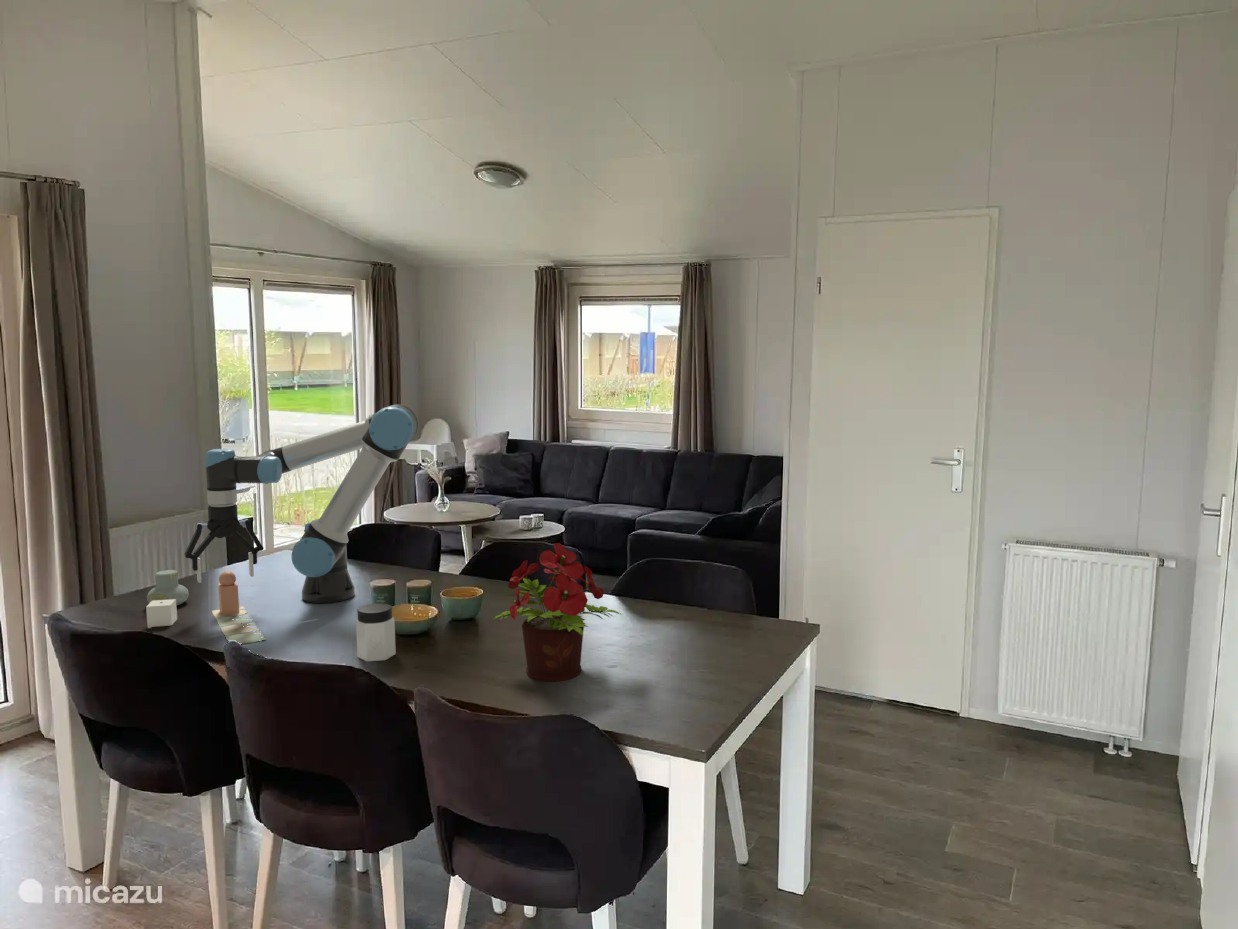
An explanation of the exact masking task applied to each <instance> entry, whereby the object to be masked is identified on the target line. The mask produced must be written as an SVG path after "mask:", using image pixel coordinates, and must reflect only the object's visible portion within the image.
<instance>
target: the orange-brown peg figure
mask: <svg viewBox="0 0 1238 929" xmlns="http://www.w3.org/2000/svg"><path fill="white" fill-rule="evenodd" d="M218 581H219V583H217V587H218V602H219V609H220V612H221V614H222V615H227V614H234V613H239V607H240V606H239V605H240V601H239V585H238V584H237V582H236V581H237V577H236V574H235V573H234V572H232V571H229V570H228V571H223V572H222V573H221V574H220V575H219V578H218Z"/></svg>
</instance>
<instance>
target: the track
mask: <svg viewBox="0 0 1238 929" xmlns="http://www.w3.org/2000/svg"><path fill="white" fill-rule="evenodd" d="M239 609H246V608H245V607H244V605H240V606H239ZM211 613H212V615H213V616H214V618H215V620H216V622H217V624H218V626H219V627H220V629H221V631H222V634H223V636H224V635H225V636H224V637H226V638H225V639H226V641H227V640H236V641H237V642H239V643H242V645H247V644H253V643H258V642H257V641H259V640H266V641H267V639H266V637H265V636H264V634H263V633H262V632H261V630H260V629H259V627H258V629H257V628H255V629H254V628H250V627H247V626H257V624H256V625H254V624H248V625H247V624H246V623H255V621H254V620H253V618H252V617H251V615H250V614H249V613H248V611H247V610H239V613H234V614H227V615H222V614H221V612H220V608H219V609H213V610H211ZM245 613H248V614H245ZM239 616H242V617H239ZM243 616H245V617H243ZM246 616H250V617H251V618H247V617H246ZM232 619H234V620H232ZM236 619H239V620H236ZM242 619H252V620H253V621H250V620H249V621H247V620H242ZM241 623H242V624H241ZM243 626H244V627H243ZM251 630H253V631H254V630H256V631H255V632H253V631H251ZM257 630H260V631H257ZM254 633H262V634H261V635H260V634H254ZM261 637H265V638H261Z"/></svg>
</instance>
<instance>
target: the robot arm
mask: <svg viewBox="0 0 1238 929" xmlns="http://www.w3.org/2000/svg"><path fill="white" fill-rule="evenodd" d="M418 422H419V421H418V418H417V415H416V414H415V412H414V411H413V410H412V409H411V408H409V407H408V406H407V405H404V404H397V403H396V404H392V405H388V406H385V407H383V408H381V409H380V410H378V411H377V412H375V413H373V414H370V415H367V417H366V418H365V420H362V421H359V422H356V423H352V424H349V425H346V426H343V427H339V428H338V429H333V430H331V431H327V432H324V433H321V434H318V435H314V436H312V437H308V438H306V439H302V440H298V441H296V442H293V443H292V442H291V443H289V444H286V445H283V446H281V447H276V448H273V449H269V450H267V451H266V450H265V451H264V452H262V453H259V454H257V455H254V456H253V455H252V456H238V455H236V453H235V450H234V449H232V448H213V449H210V450H208V451H207V452H206V454H205V466H204V467H205V474H206V475H205V478H206V492H207V493H206V494H207V495H206V496H207V504H208V506H207V518H208V521H207V523H200V522H196V525H195V531H194V533H193V536H192V538H191V539H190V542H189V543H188V546H187V548H186V549H185V552H184V557H185V558H186V559H189V560H191V565H192V567H191V568H192V570H193V571H194V572H195V571H196V576H197V577H196V578H197V583H199V584H201V583H202V566H201V562H202V561H201V558H200V556H201V554H202V553H204V551H205V550H206V549H207V547H208V546H209V545H210V543H212V541H214V540H215V538H218V539H222V538H231V537H233V536H234V537H235V538H236V539H237V540H239V542H241V543H242V544H243V545H244V546H245V547H246V549H247V548H248V549H249V551H250V552H248V570H249V571H248V574H249V576H250V577H254V576H255V575H254V574H255V572H254V565H258V553H259V552H260V551H261V552H262V551H263V550H264V546H263V545H262V543H261V541H260V540H259V538H258V535H256V533H255V531H254V530H253V528H252V526H251V525H252V524H251V520H249V519H248V518H244V519H243V520H239V517H238V516H239V515H238V505H237V504H236V503H238V497H237V484H266V485H268V484H274V483H275V484H276V483H279V482H280V481H281V478H282V474H286V473H289V472H292V471H294V470H298V469H302V468H303V467H307V466H311V465H314V464H317V463H319V462H323V461H325V460H329V459H333V458H336V457H339V456H342V455H345V454H348V453H352V452H354V451H357V450H360V451H359V453H358V455H357V457H356V458H355V460H354V461H353V463H352V465H350V468H349V470H348V471H347V473H346V475H345V476H344V478H343V480H342V481H341V483H340V485H339V486H338V488H337V490H336V491H335V493H334V494H333V496H332V497H331V499H330V501H329V503H328V504H327V506H326V507H325V509H324V511H323V513H322V514H321V516H320V517H319V518H318V519H313V520H311V521H309V522H306V523H305V525H304V530H303V532H304V533H303V535H302V536H301V537H300V539H299V540H298V541H297V542H296V543H295V545H294V546H293V548H292V551H291V561H292V565H293V567H294V569H296V570H297V572H298V573H300V574H302V575H303V576H305V580H304V581H303V582H304V583H303V586H302V590H301V599H302V600H303V601H304V602H307V603H313V604H328V603H337V602H342V601H346V600H349V599H351V598H353V597H354V596H355V594H356V593H355V586H354V582H353V580H352V578H351V576H350V573H349V570H348V555H347V554H348V553H347V544H348V542H349V537H348V532H349V531H350V529H351V527H352V526H353V524H354V523H355V521H356V519H357V517H359V515H360V513H361V511H362V509H363V507H364V506H365V505H366V503H367V501H368V500H369V498H370V497H371V495H372V493H373V491H374V490H375V488H376V487H377V485H378V483H379V482H380V480H381V478H382V477H383V475H384V473H385V472H386V470H387V468H388V466H389V465H390V463H394V462H397V461H399V459H400V458H401V456H402V454H403V453H404V451H405V449H406V448H407V447H408V444H409V443H410V442H411V440H412V439H413V438H414V437H415V435H416V434H417V431H418V427H419V425H418V424H419V423H418ZM240 526H242V527H243V528H245V529H246V531H247V533H248V535H249V536H250V538H251V539H252V541H253V542H254V544H255V546H256V547H255V546H253V545H252V544H251V543H250V542H249V541H248V540H247V539H246V538H245V537H244V536H242V535H241V534H240V533H239V532H238V531H237V530H238V529H239V528H240ZM206 529H208V530H209V532H208V534H207V535H206V537H205V539H204V540H203V541H202V542H201V543H200V544H199V546H198V547H197V548H196V549H195V547H196V545H197V544H198V540H199V539H200V537H201V535H202V532H204V531H205V530H206ZM194 550H195V551H194ZM193 551H194V552H193Z"/></svg>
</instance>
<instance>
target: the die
mask: <svg viewBox="0 0 1238 929" xmlns="http://www.w3.org/2000/svg"><path fill="white" fill-rule="evenodd" d="M145 610H146V611H145V612H146V622H147V623H146V624H147V629H152V627H153V628H154V627H165V626H167V627H168V626H173V625H174V624H175V622H176V621H177V620H178V611H177V610H178V609H177V606H176V599H170V600H155V601H151V602H150V603H149V602H148V605H146V607H145Z"/></svg>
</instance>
